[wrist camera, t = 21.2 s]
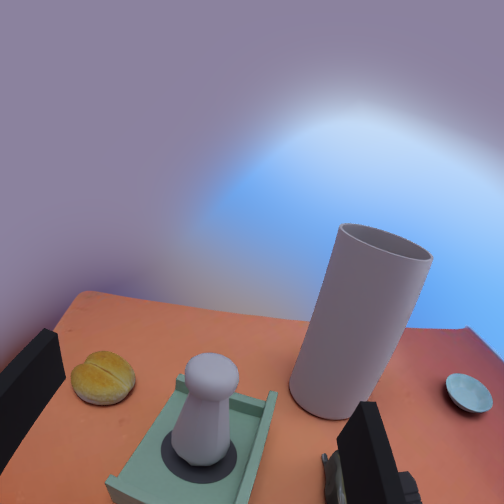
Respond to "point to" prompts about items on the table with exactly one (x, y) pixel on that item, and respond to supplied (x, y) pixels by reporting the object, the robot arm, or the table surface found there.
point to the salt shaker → (205, 410)
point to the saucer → (468, 393)
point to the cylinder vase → (357, 319)
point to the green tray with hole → (195, 477)
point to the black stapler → (334, 479)
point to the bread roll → (103, 378)
